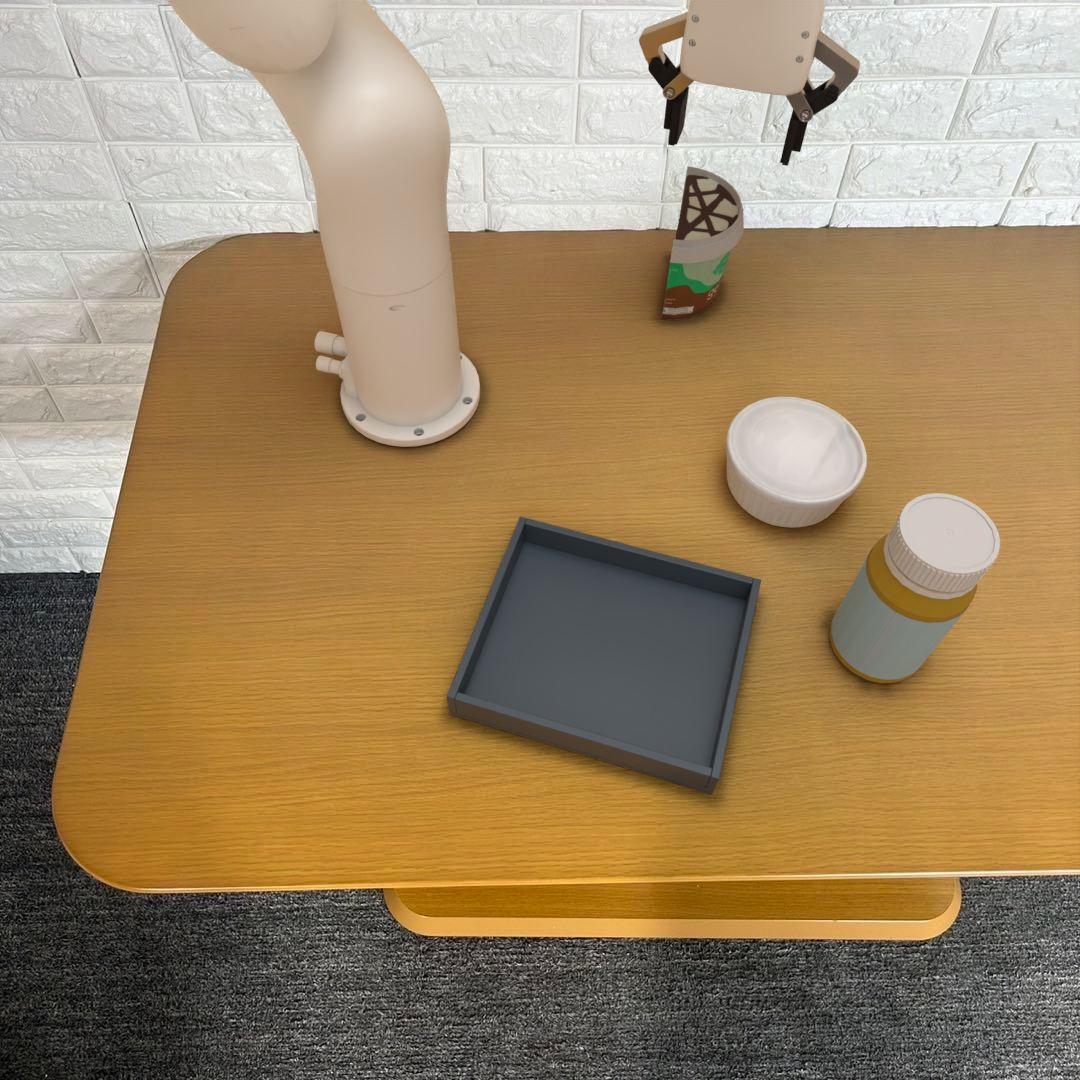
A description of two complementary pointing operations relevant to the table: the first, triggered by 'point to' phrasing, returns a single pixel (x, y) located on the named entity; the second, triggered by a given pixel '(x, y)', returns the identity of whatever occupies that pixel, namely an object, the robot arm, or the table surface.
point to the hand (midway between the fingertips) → (730, 146)
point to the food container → (701, 243)
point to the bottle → (913, 587)
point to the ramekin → (792, 460)
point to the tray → (609, 653)
